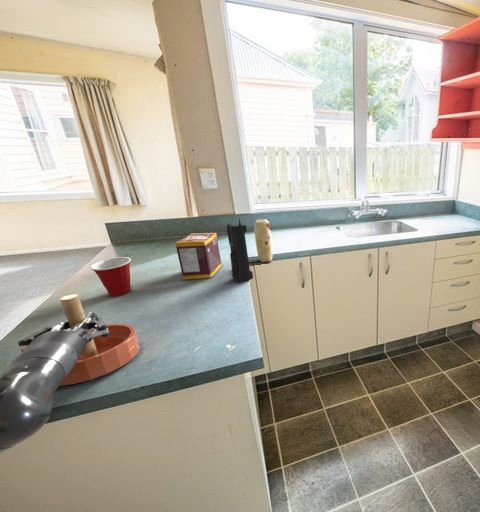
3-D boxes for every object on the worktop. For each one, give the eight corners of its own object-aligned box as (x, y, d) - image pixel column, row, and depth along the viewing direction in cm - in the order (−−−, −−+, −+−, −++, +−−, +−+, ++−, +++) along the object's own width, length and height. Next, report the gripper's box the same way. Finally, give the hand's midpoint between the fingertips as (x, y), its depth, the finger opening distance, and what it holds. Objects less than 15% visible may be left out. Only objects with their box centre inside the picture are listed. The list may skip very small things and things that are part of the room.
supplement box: (222, 265, 135) (216, 232, 130) (211, 278, 121) (204, 241, 116) (197, 267, 133) (190, 233, 128) (182, 279, 119) (174, 242, 114)
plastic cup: (90, 299, 101) (79, 266, 98) (118, 286, 112) (109, 256, 108) (121, 300, 101) (111, 267, 97) (146, 287, 111) (138, 257, 108)
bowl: (28, 398, 60) (18, 375, 58) (62, 353, 74) (55, 334, 72) (132, 372, 67) (125, 351, 66) (145, 335, 81) (140, 318, 80)
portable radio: (231, 277, 121) (221, 217, 114) (246, 274, 125) (237, 215, 118) (238, 283, 116) (228, 220, 108) (253, 279, 120) (245, 218, 112)
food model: (277, 261, 142) (272, 220, 136) (263, 264, 137) (258, 221, 131) (268, 256, 148) (264, 217, 142) (255, 259, 144) (249, 218, 138)
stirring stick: (80, 364, 67) (57, 301, 62) (85, 357, 69) (62, 295, 64) (96, 361, 68) (75, 298, 63) (100, 354, 70) (80, 293, 65)
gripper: (93, 332, 56) (118, 296, 70) (-19, 354, 49) (34, 309, 64) (104, 365, 58) (126, 324, 72) (-1, 390, 52) (46, 339, 66)
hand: (83, 317), depth 68 cm, fingers closed on stirring stick, 3 cm apart
